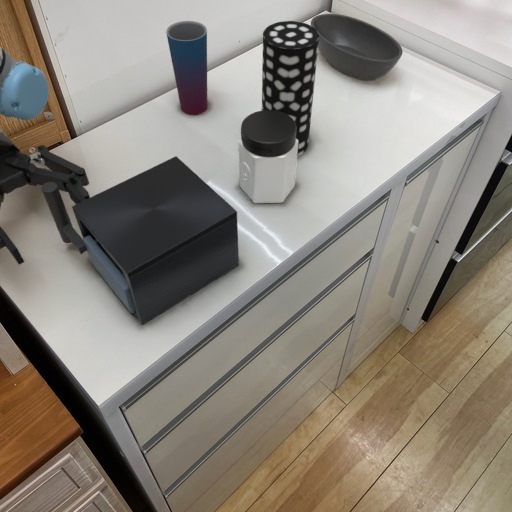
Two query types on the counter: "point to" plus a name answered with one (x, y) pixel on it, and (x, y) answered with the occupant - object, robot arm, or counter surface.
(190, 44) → the cup
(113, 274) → the blue-grey drawer tray
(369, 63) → the bowl
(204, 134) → the counter surface
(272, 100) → the spotted tube
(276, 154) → the jar
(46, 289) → the counter surface
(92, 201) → the drawer box
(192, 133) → the counter surface
